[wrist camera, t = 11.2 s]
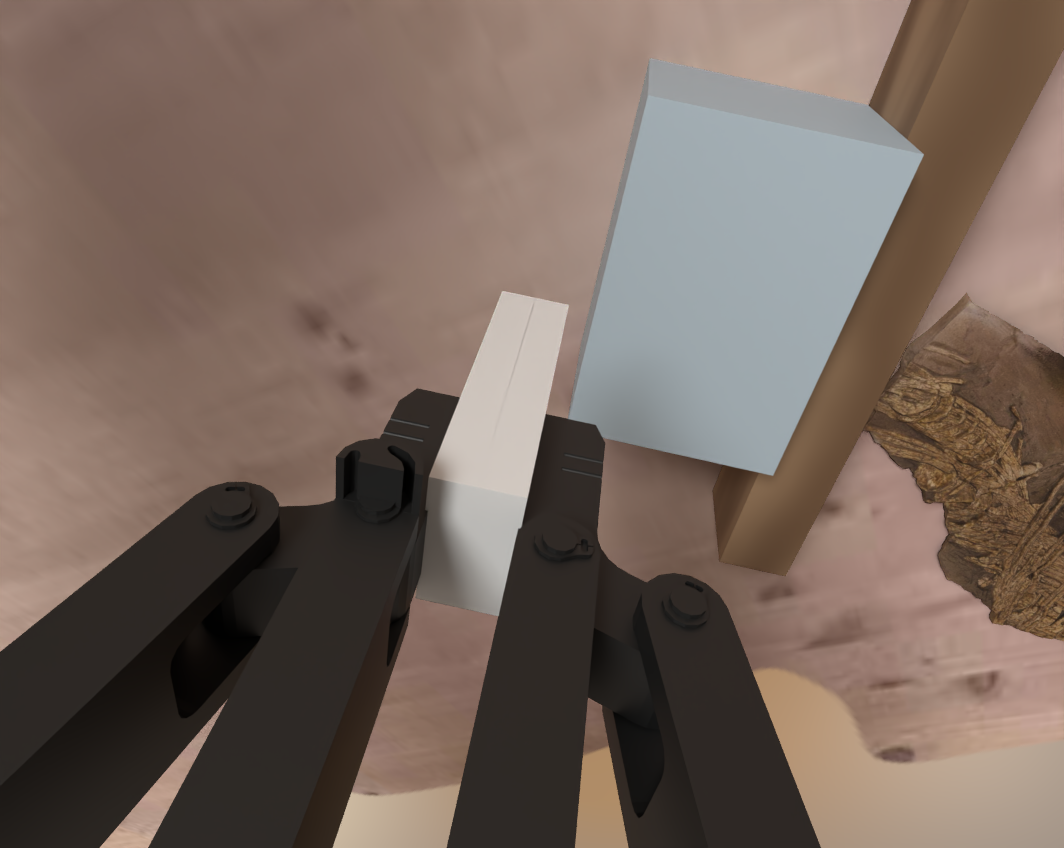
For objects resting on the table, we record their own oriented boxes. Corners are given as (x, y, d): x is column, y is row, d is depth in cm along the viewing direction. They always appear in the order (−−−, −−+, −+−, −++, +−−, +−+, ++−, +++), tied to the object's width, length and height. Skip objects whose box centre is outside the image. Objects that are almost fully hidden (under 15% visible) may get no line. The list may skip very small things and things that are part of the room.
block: (581, 342, 34) (565, 429, 28) (649, 57, 27) (647, 95, 21) (753, 380, 34) (772, 475, 28) (866, 103, 27) (924, 154, 21)
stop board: (712, 490, 37) (719, 561, 33) (1011, -248, 21) (1097, -289, 17) (771, 503, 37) (785, 576, 33) (1116, -227, 21) (1228, -263, 17)
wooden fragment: (822, 359, 33) (826, 371, 32) (1103, 225, 28) (1117, 235, 27) (1014, 691, 43) (1021, 707, 42) (1244, 633, 38) (1257, 650, 37)
